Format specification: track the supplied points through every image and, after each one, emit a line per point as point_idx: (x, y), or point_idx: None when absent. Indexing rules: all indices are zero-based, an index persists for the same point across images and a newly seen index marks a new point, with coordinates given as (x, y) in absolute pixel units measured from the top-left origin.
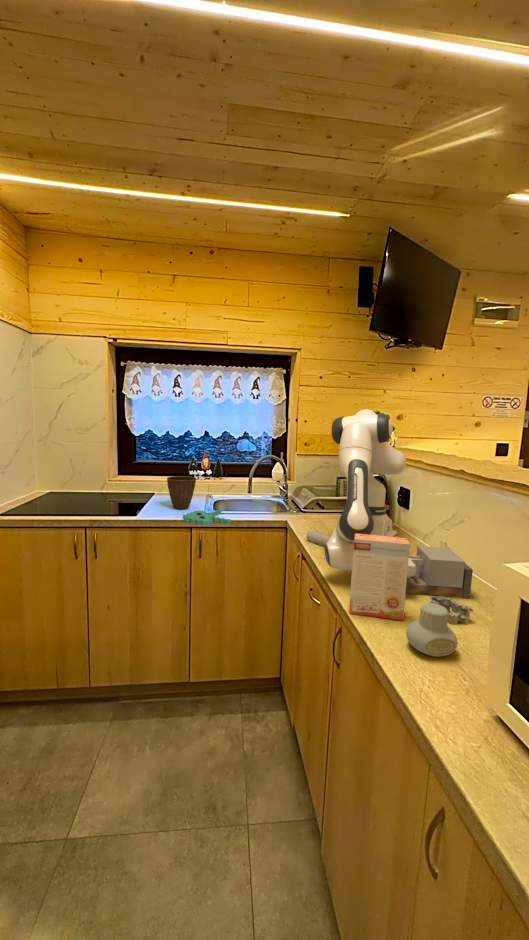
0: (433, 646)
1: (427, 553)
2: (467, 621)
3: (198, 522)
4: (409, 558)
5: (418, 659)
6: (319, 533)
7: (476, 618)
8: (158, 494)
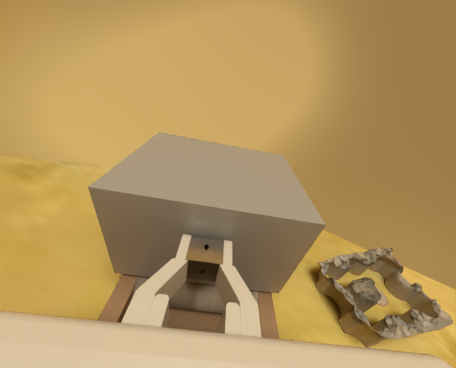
0: None
1: (229, 199)
2: (382, 272)
3: None
4: (305, 351)
5: None
6: None
7: (341, 246)
8: None
